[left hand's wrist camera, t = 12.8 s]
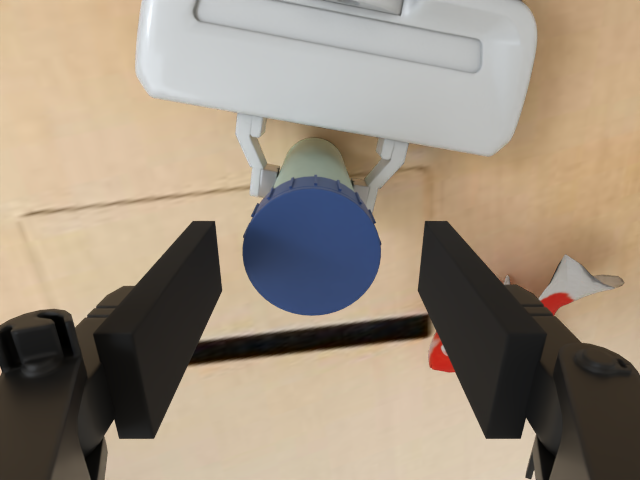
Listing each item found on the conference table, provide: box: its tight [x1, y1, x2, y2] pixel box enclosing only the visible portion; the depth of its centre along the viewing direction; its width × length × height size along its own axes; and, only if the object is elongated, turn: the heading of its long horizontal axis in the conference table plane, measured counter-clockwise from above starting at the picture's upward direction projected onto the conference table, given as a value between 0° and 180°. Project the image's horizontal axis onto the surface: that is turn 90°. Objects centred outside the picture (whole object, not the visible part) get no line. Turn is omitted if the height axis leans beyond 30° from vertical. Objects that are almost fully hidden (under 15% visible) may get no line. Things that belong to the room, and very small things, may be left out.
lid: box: [243, 175, 381, 316], centre depth 16 cm, size 5×5×2 cm
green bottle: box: [274, 138, 354, 191], centre depth 23 cm, size 4×4×16 cm
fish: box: [428, 254, 624, 372], centre depth 30 cm, size 11×16×10 cm
